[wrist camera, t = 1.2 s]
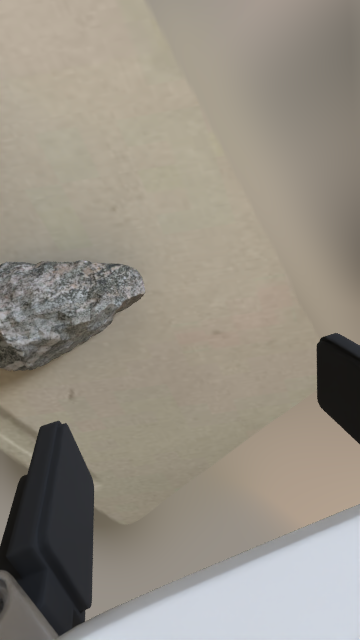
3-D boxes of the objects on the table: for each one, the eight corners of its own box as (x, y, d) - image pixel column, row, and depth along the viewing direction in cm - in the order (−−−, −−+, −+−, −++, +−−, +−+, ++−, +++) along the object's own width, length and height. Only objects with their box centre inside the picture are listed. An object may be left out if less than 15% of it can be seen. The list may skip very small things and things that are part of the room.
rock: (26, 394, 34) (-48, 399, 25) (-8, 325, 37) (-89, 304, 27) (161, 305, 35) (140, 275, 25) (119, 242, 37) (84, 191, 27)
